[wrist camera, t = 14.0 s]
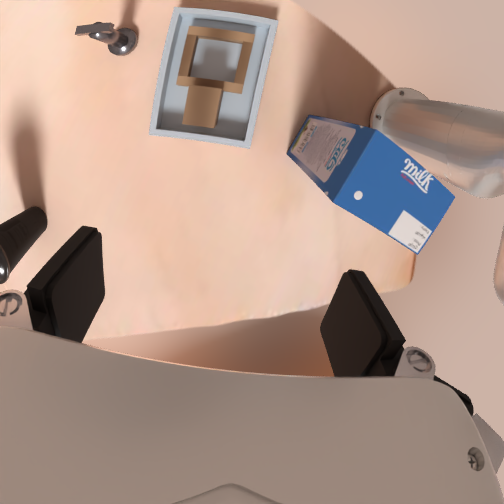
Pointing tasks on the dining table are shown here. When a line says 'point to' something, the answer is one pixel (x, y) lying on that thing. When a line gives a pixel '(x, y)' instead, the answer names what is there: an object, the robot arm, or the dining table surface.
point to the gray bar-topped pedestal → (111, 37)
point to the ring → (207, 90)
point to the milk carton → (371, 179)
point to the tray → (213, 76)
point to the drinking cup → (19, 238)
